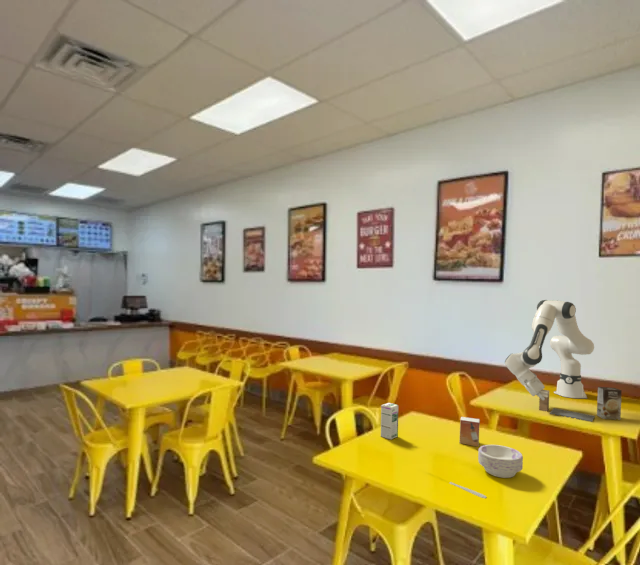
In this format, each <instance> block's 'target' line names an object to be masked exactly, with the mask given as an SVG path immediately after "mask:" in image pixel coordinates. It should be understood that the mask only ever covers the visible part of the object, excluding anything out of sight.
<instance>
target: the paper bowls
mask: <svg viewBox="0 0 640 565" xmlns="http://www.w3.org/2000/svg"><path fill="white" fill-rule="evenodd" d="M477 451H478V456H477V457H478V460H477V461H478V463H479V465H481V466H482V467H483V468H484V470H485V471H486V473H488V474H490V475H491V476H494V477H498V478H504V479H507V478H508V479H509V478H513V477H515V475H517V473H519V472H521V471H522V470H523V467H524V466H523V465H524V462H523V458H524V457H523V454H522V453H521V452H520V451H519V450H517V449H515V448H513V447H509V446H505V445H499V444H484V445H480V447H479V448H478V450H477Z"/></svg>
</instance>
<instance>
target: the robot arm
mask: <svg viewBox="0 0 640 565" xmlns="http://www.w3.org/2000/svg"><path fill="white" fill-rule="evenodd" d="M576 310H577V309H576V305H574V303H572V302H569V301H564V300H563V301H562V300H559V299H558V300H554V299H553V300H547V299H544V300H540V301H539V302H538V303H537V305H536V312H535V314H534V317H533V319H532V323H531V330H532V331H533V334H532V335H533V336H532V338H531V340H530V343H529V345H528V346H527V347H526V348H525V349H524V350H523V352H518V353H510V354H509V355H508V356H507V358H505V360H504V364H505V366H506V368H507V369H508V370H509V372H510V373H512V375H514V376H515V377H516V379H517V380H518V382H519V383H520V384H521V385H522V386H524V387H525V390H526V391H527V392H529V394H530V395H531V396H532V397H535V396H537V397H538V398H541V399H542V400H545V397H544V396H542V395H541V393H540V391H541V390H545V387H546V386H545V385H544V384H543V382H542V381H541V380H540V379H539V378H538V377H537V374H536V373H534V372H533V371H531V370H530V369H532V368H533V367H536V365H538V364H539V363H541V362H542V360H543V351H542V349H543V346H544V343H545V339H546V337H547V335H548V334H549V333H550V331H551V330H552V328H553V325H554V322H555V321H556V326H557V329H558V332H559V333H560V334H561V335H553V336H552V337H551V339H550V341H549V344H550V347H551V349H552V350H554V352H555V353H556V354H557V356H558V358H559V361H560V375H559V379H558V380H557V381H556V382H557V383H556V390H555V391H553V393H554V394H556V395H559V396H560V397H561V396H562V397H564V398H570V399H571V398H572V399H588V397H587V396H588V395H587V394H586V392H585V389H584V384H583V383H582V375H581V374H582V373H581V372H582V371H581V369H582V368H581V367H582V365H581V362H580V361H579V360H577V359H576V358H574V356H573V354H575V355H582V356H583V355H584V356H585V355H591V354H592V353H593V352H594V350H595V343H594V342H593V341H592V340H591V339H589V338H588V337H587V336H585V335H584V334H583V333H582V331H581V330H580V329H579V326H578V322H577V319H576V315H575V314H576Z"/></svg>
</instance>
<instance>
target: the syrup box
mask: <svg viewBox="0 0 640 565" xmlns="http://www.w3.org/2000/svg"><path fill="white" fill-rule="evenodd" d="M380 408H381V409H380V437H382V438H385V439H387V440H393V439H394V438H398V436H399V405H398V404H395V403H391V402H387V403H384V404H381V405H380Z"/></svg>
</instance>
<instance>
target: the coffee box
mask: <svg viewBox="0 0 640 565" xmlns="http://www.w3.org/2000/svg"><path fill="white" fill-rule="evenodd" d="M596 401H597V403H596V404H597V406H596V416H598V417H599V418H601V419H603V420H616V419H618V420H619V421H620V420H621V414H622V411H621V410H622V389H619V388H616V387H608V386H607V387H606V386H598V387H597V400H596Z"/></svg>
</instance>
